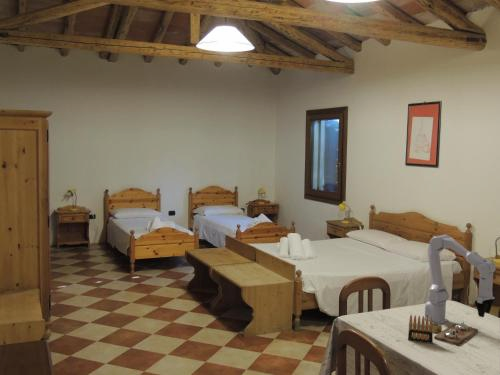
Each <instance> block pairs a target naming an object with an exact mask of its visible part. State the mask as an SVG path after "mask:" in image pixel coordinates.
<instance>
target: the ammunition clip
mask: <svg viewBox="0 0 500 375" xmlns="http://www.w3.org/2000/svg"><path fill="white" fill-rule="evenodd" d="M424 318H425V315H423V316H422V318H421V315H418V317H417V315H414V316H412V314H410V316H409V322H408V335H407V336H408V337H407V341H411V342H419V343H426V344H433V343H434V342H433V340H434V339H433V334H434V332H433V323H434V322H433V320H432V317H431V318H430V321H429V320H428V316H427V318H426V320H425V319H424ZM429 323H430V325H429Z"/></svg>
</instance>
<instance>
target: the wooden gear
mask: <svg viewBox="0 0 500 375" xmlns="http://www.w3.org/2000/svg"><path fill="white" fill-rule="evenodd" d="M429 325H430V322H429ZM442 329H443V326H442V324H441V323H437V322H433V334H434V333H435V334H439V333H441V332H442V331H443V330H442Z"/></svg>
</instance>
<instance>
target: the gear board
mask: <svg viewBox="0 0 500 375" xmlns="http://www.w3.org/2000/svg"><path fill="white" fill-rule="evenodd" d="M458 324H459V323H456V322H455V323H454V324H452V325H450V326H448V327H447V328H446V329H443V330H442V332H441V333H436V335H434V339H433V340H437V341H440V342H444V343H447V344H451V345H455V346H460V345H461V344H462V343H464V342H466V341H467V340H468V339H470V338H471V337H472V336H474V335H475V334H477V333H478V332H479V329H478V328H475V327H472V326H469V330H467V331H463V330H459V329H458V333H456V334H458V337H457V338H456V339H450V338H449V339H448V338H447V337H445V336H444V333H445V332H446V331H448V332H449V330H450V329H452V332H453V331H455V328H456V325H458Z"/></svg>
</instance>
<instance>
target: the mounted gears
mask: <svg viewBox="0 0 500 375" xmlns="http://www.w3.org/2000/svg"><path fill="white" fill-rule="evenodd" d="M457 324H458V325H456V328H455V331H453V332H452V329H450V330H449V332H448V331H446V332H445V333H444V336H445V337H447V338H448V339H449V338H450V339H456V338H457V337H458V334H456V333H458V329H459V330H463V331H467V330H469V327H470V325H467V324H465V322H464V321H461V323H457Z"/></svg>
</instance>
